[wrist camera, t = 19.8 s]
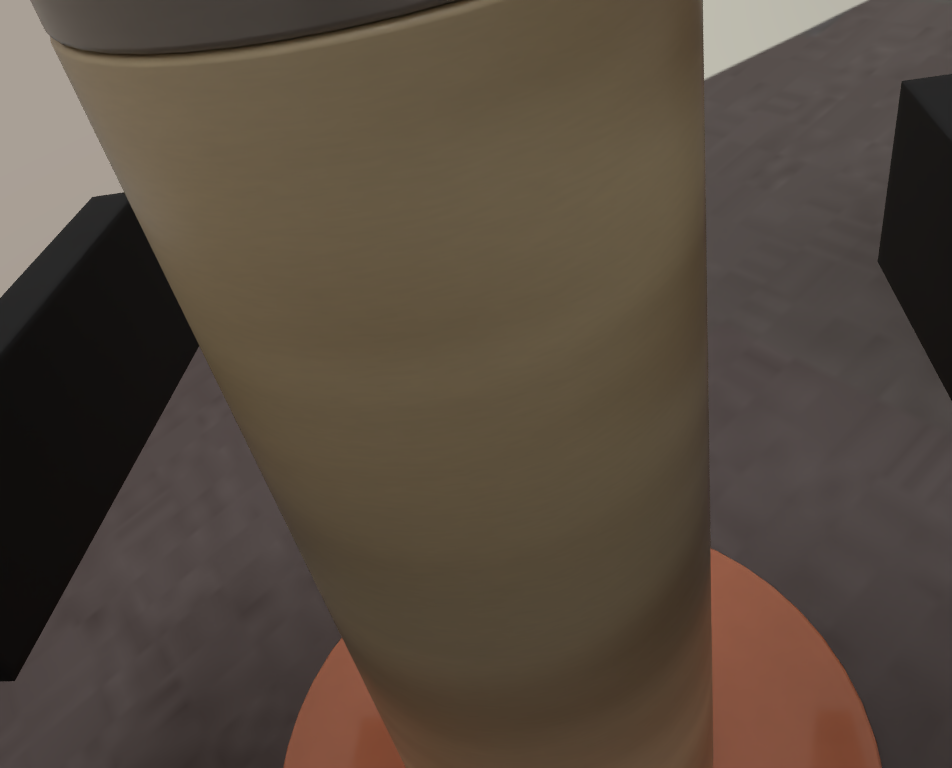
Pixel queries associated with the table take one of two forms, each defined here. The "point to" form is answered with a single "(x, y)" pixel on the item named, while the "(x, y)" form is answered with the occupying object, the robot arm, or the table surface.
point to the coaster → (733, 688)
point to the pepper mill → (451, 336)
